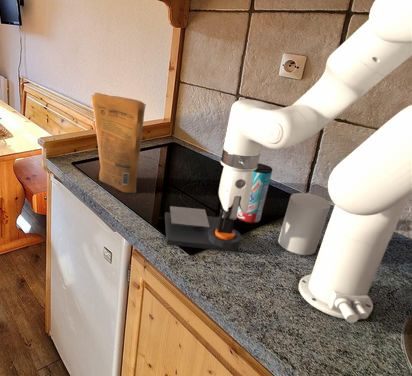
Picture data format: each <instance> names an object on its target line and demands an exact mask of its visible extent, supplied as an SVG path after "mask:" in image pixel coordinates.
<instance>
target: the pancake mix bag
mask: <svg viewBox="0 0 412 376" xmlns="http://www.w3.org/2000/svg"><path fill="white" fill-rule="evenodd" d="M90 99H91V106H92V110H93V111H92V112H93V118H94V126H95V132H96V140H97V141H96V142H97V150H98V159H99V164H100V168H99V173H98V180H99V182H102V183H104V184H105V185H107V186H109V187H112V188H114V189H116V190H118V191H120V192H122V193H126V194H137V172H138V167H139V159H140V153H141V147H142V137H143V129H144V128H143V127H144V119H145V110H146V106H147V104H146V103H145V102H143V101H141V100H137V99H133V98H129V97H123V96H118V95H109V94H106V93H100V92H94V94H91V98H90Z"/></svg>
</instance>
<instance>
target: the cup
mask: <svg viewBox="0 0 412 376" xmlns="http://www.w3.org/2000/svg"><path fill="white" fill-rule="evenodd" d="M330 208H331V202H330V201H328V200H327V199H326V198H324V197H321V196H319V195H316V194H313V193H312V194H311V193H306V192H296V193H295V192H294V193H292V194H291V195H290V197H289V201H288V204H287V208H286V212H285V215H284V217H283V222H282V226H281V229H280V233H279V236H278V240H277V241H278V244H279V245H280V247H282V248H283V249H285V250H286V251H289V252H291V253H293V254H297V255H300V256H309V255H310V256H311V255H313V254H315V253H316V251H317V248H318V245H319V242H320V239H321V236H322V233H323V230H324V227H325V224H326V221H327V217H328V214H329V211H330Z"/></svg>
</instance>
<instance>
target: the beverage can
mask: <svg viewBox="0 0 412 376" xmlns="http://www.w3.org/2000/svg"><path fill="white" fill-rule="evenodd" d="M272 172H273V167H271V166H270V165H267V164H264V163H259V162H258V166H257V169H256V170H254V171H253V183H252V189H251V195H250V201H249V206H248V211H247V213H245V214H244V213H242V211H241V209H240V207H239V208H238V213H237V220H238V221H240V222H242V223H244V224H247V225H249V224H250V225H255V224H258V223H259V222H260V221H261V218H262V213H263V209H264V206H265V203H266V202H265V201H266V198H267V194H268V190H269V186H270V182H271V178H272V174H273V173H272Z"/></svg>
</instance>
